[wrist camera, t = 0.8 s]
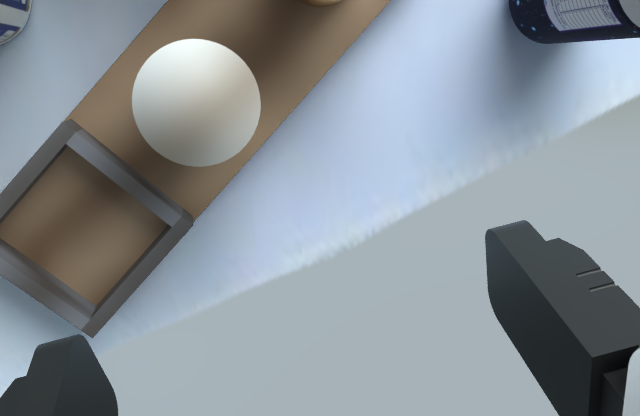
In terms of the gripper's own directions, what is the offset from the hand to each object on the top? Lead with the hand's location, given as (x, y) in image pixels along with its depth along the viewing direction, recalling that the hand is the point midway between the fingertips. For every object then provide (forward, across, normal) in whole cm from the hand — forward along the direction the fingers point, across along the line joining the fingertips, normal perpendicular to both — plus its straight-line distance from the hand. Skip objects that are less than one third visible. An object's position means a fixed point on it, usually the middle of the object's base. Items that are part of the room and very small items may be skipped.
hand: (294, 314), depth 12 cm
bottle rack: (+26, +3, +4) cm, 26 cm away
